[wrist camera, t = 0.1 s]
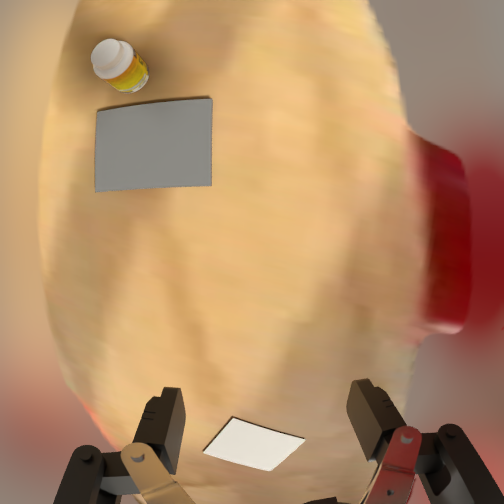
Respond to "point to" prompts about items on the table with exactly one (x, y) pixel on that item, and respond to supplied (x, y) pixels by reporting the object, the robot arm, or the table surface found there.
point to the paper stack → (252, 445)
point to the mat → (154, 146)
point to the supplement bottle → (119, 65)
